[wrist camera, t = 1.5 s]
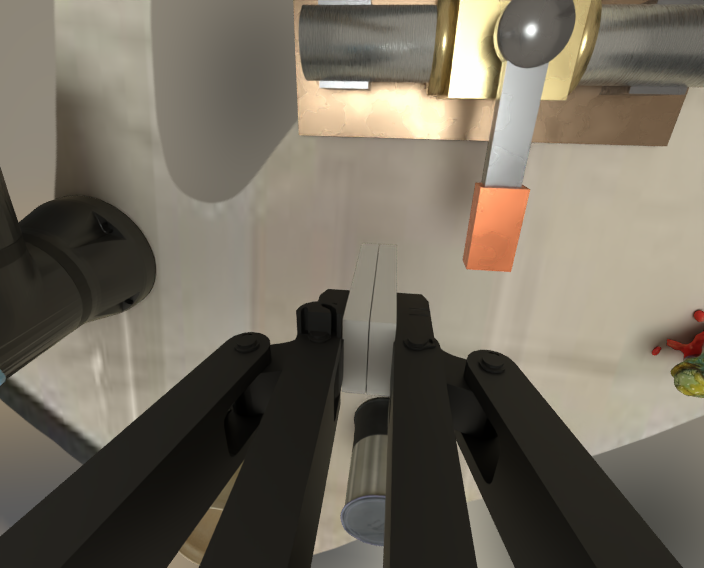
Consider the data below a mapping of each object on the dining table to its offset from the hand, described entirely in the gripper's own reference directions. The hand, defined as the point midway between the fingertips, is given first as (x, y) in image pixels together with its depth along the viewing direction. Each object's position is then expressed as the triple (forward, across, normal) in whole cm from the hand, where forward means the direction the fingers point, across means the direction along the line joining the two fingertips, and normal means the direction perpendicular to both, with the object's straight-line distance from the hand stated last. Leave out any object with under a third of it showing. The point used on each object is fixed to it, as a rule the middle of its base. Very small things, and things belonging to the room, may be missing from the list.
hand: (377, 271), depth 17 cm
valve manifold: (+24, +8, +11) cm, 28 cm away
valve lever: (+12, +8, +5) cm, 15 cm away
